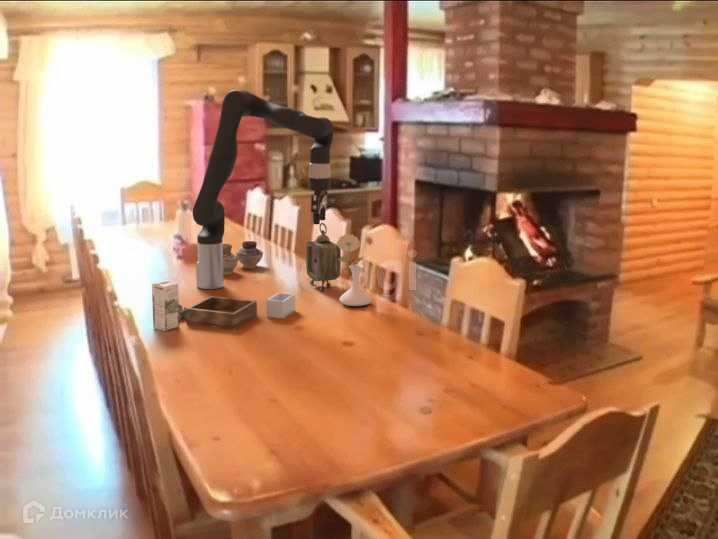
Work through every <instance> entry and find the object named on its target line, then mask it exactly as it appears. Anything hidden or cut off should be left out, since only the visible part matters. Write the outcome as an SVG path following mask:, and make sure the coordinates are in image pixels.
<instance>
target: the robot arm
mask: <svg viewBox="0 0 718 539" xmlns="http://www.w3.org/2000/svg"><path fill="white" fill-rule="evenodd" d="M243 117H254V118H260V119H263V120H267V121H269V122H271V123H273V124H275V125H276V126H279V127H281V128H284V129H287V130H290V131H295V132H298V133H299V134H302V135H304V136H307V137H308V138H312V139H313V144H312V146H311V147H310V148H309V167H308V189H309V190H310V191H313V192H314V193H313V194H311V195H310V196H311V199H310V202H311V203H310V204H311V205H310V212H311V213H312V215H313V216H312V217H313V218H312V219H313V220H312V224H313V225H320V224H321V221H326V215H327V214H326V210H327V208H328V206H329V205H328V193H329V192H328V191H329V190H331V174H332V173H331V171H332V170H331V148H332V142H333V136H334V126H333V123H332V121H331V120H330V119H329V118H328V117H325V116H324V117H316V116H312V115H308V114H306V113H305V112H303V111H300V110H298V109H295V108H294V109H293V108H291V107H287V106H283V105H280V104H276V103H274V102H271V101H268V100H265V99H262V98H261V97H259V96H257V95H255V94H254V93H251V92H249V91H248V90H245V89H238V90H237V89H233V90H230V91H229V92H227V93H226V94H225V96H224V97H223V101H222V105H221V111H220V117H219V121H218V128H217V130H216V134H215V137H214V141H213V145H212V148H211V152H210V155H209V159H208V162H207V167H206V170H205V173H204V177H203V180H202V184H201V188H200V190H199V191H198V192H199V193H198V195H197V198H196V200H195V202H194V204H193V207H192V218H193V221H194V222H195V223H196V224H197V225H198V226H201V227H202V228H201V230H200V231H199V233H198V234H197V239H196V240H197V242H196V243H197V261H196V262H195V275H196V287H197V288H199V289H202V290H216V289H217V290H218V289H222V288H224V275H223V244H224V243H223V238H224V235H225V226H226V225H225V223H226V222H225V219H226V218H225V217H226V215H225V214H226V213H225V207H224V206H223V204H222V202H221V201H220V200H219V199H218V197H219V195H220V192H221V191H222V189H223V187H224V186H225V184H226V183H227V182H228V180H229V178H230V177H231V176H232V173H233V171H234V169H235V164H236V161H237V159H238V141H237V140H238V138H237V134H238V129H239V126H240V123H241V120H242V118H243Z"/></svg>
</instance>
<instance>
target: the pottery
mask: <svg viewBox="0 0 718 539" xmlns="http://www.w3.org/2000/svg"><path fill="white" fill-rule="evenodd" d="M222 244H223V276H225V275H233V274H234V272H235V271H234V269H235V268H236V267H237V265H238V262H239V263H240V264H242V267H243V269H256V268H257V266H258V264H259V263H260V262H261V260H262V258H263V255H264V251H262V250H261V249H259V248H257V246H258V244H257V241H255V240H254V241H253V240H246V241H242V242H241V245H242V246H241V247H242V248H240V249H238V250H237V251H236V253H235V254H234V253H232V248H233V244H232V243H222Z"/></svg>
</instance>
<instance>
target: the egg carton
mask: <svg viewBox="0 0 718 539" xmlns="http://www.w3.org/2000/svg"><path fill="white" fill-rule="evenodd" d="M186 308H187V307H184V308H183V306H182V304H180V303H179V321H180V320H181V319H182V318H186Z"/></svg>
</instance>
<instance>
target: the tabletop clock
mask: <svg viewBox="0 0 718 539" xmlns="http://www.w3.org/2000/svg"><path fill="white" fill-rule="evenodd" d="M322 226H323V227H324V229H325V230H324V229H323V230H322ZM327 228H328V227H327V225H326V223H324V222H320V224H319V232H320V235H318V236H317V237H316V240H311V241H310V240H309V241H307V242H306V250H305V251H306V253H305V254H306V255H305V260H306V261H305V262H306V264H305V265H306V274H307V276H308V277H309V278H310V279H311V280H310V281H309V282H310V284H311V285H314V284H315V282H321V286H320V287H319V291H321V292H323V291H324V290H325V288H324V285H326V287H328V288H330V287H331V283H330V282H329V281H335V280H337V279H339V278H340V276H341V269H342V268H341V267H342V266H341V265H342V261H338V259H339V258H341V257H342V254H341V252H342V250H341V249H339V247H338V244H337V243H334V242H333V241H331V240H330V238H329V236H328V235H327V232H328V229H327ZM325 282H326V284H325Z"/></svg>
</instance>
